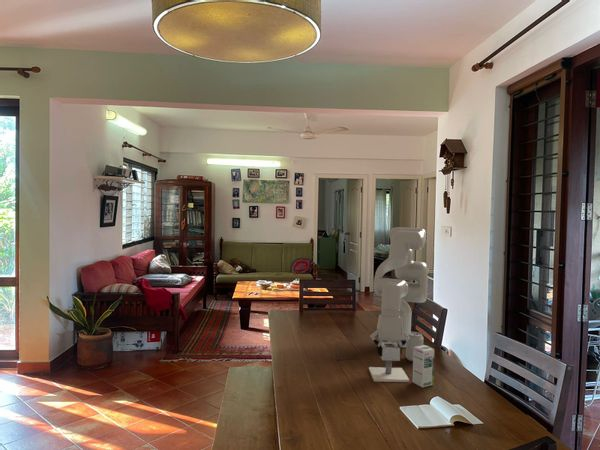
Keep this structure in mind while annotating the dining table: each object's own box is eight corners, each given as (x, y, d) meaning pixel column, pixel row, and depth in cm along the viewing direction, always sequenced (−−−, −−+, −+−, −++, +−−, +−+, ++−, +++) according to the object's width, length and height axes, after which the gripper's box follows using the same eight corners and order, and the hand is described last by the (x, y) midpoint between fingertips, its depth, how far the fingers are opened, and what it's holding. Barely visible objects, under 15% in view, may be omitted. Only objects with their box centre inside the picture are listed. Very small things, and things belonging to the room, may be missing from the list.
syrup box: (422, 388, 159) (424, 350, 159) (411, 382, 165) (413, 346, 164) (433, 385, 162) (435, 348, 161) (422, 379, 167) (424, 344, 167)
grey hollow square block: (395, 354, 173) (396, 342, 173) (399, 360, 166) (400, 348, 166) (378, 354, 173) (379, 342, 173) (382, 360, 166) (382, 347, 166)
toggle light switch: (401, 370, 176) (402, 354, 176) (409, 382, 164) (410, 364, 164) (368, 369, 176) (369, 353, 176) (374, 381, 164) (374, 364, 164)
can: (423, 358, 191) (424, 332, 191) (421, 363, 184) (422, 337, 184) (407, 355, 194) (408, 330, 194) (404, 360, 188) (405, 334, 187)
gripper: (409, 310, 173) (407, 352, 174) (367, 309, 173) (366, 351, 174) (414, 315, 165) (412, 359, 166) (371, 314, 165) (369, 358, 166)
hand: (389, 355), depth 170 cm, fingers closed on grey hollow square block, 7 cm apart
